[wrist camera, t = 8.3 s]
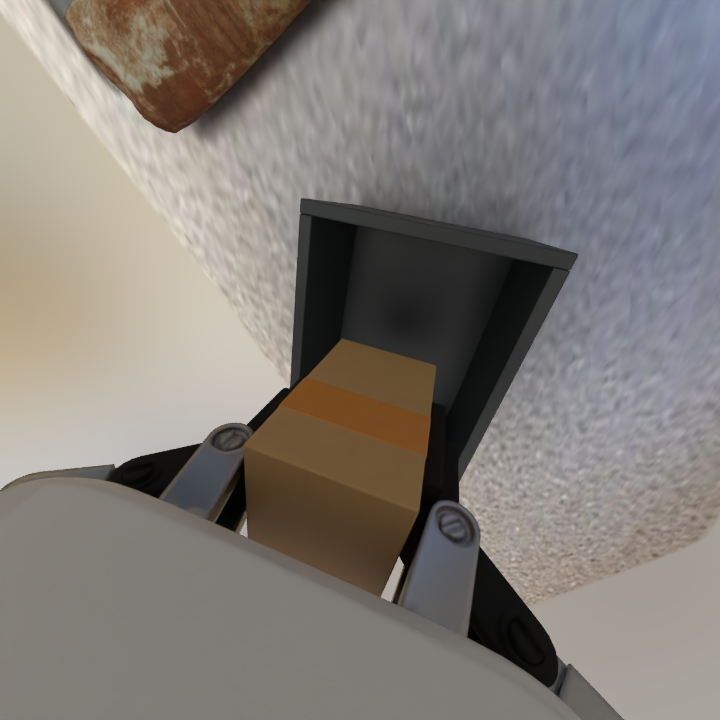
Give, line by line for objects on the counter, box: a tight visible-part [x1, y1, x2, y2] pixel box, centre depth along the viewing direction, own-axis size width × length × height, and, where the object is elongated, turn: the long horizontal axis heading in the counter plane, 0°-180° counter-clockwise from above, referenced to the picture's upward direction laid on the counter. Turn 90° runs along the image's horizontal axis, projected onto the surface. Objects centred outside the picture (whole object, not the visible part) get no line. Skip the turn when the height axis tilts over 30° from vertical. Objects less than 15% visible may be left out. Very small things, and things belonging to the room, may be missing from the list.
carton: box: [244, 339, 436, 597], centre depth 10 cm, size 5×4×6 cm
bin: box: [290, 198, 578, 481], centre depth 18 cm, size 14×11×8 cm
